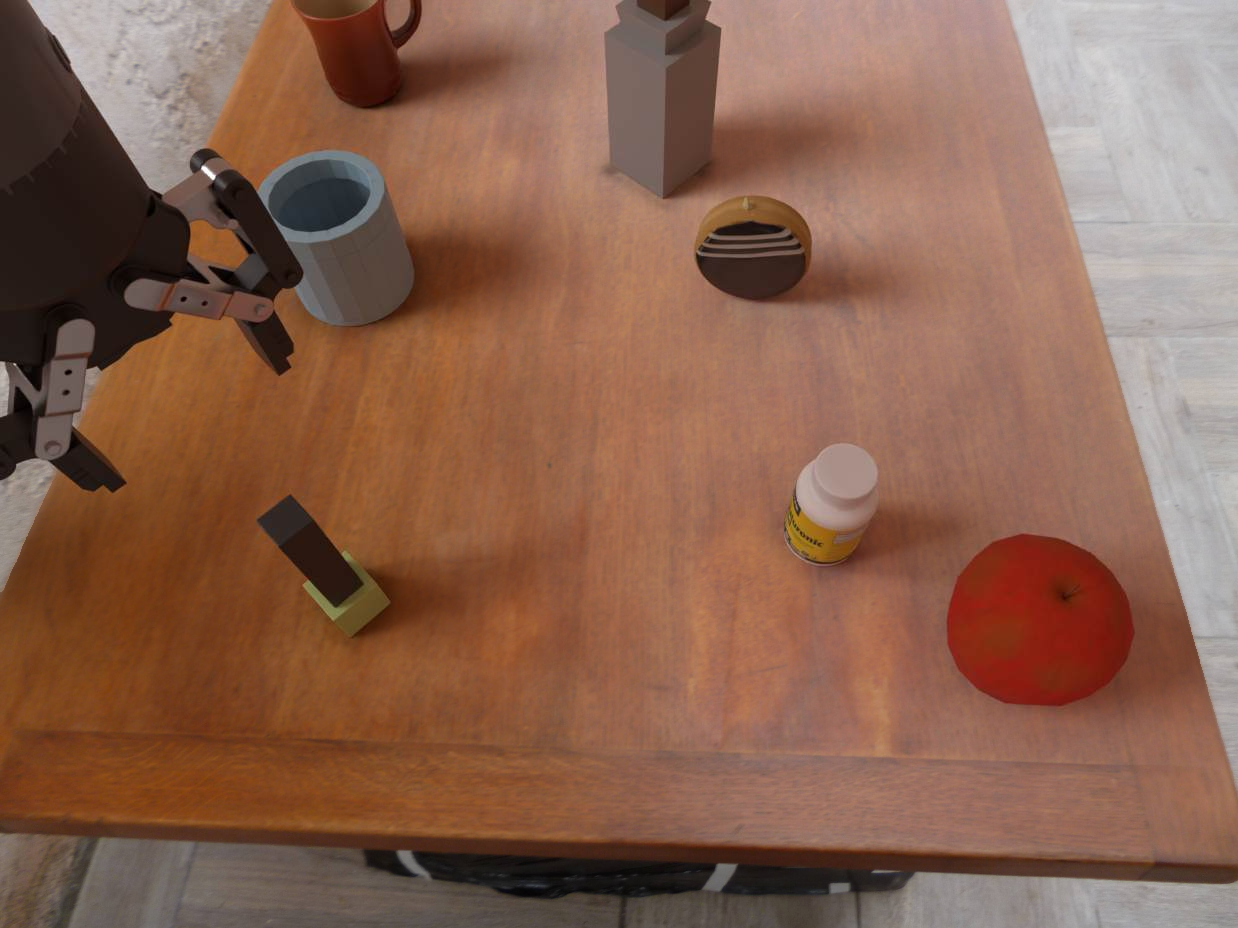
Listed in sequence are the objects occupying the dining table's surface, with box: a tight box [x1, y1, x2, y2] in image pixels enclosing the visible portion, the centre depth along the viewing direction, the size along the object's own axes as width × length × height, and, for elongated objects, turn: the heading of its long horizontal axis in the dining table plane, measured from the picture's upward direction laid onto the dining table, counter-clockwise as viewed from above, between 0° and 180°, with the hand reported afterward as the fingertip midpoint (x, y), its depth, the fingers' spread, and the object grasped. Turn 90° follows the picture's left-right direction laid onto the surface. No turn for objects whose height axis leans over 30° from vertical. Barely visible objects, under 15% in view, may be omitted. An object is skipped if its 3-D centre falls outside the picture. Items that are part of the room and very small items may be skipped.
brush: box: [255, 494, 392, 638], centre depth 54 cm, size 4×4×14 cm
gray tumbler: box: [256, 149, 416, 327], centre depth 70 cm, size 10×10×10 cm
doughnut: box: [693, 195, 813, 300], centre depth 69 cm, size 9×4×10 cm, turn 79°
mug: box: [290, 0, 423, 108], centre depth 83 cm, size 12×9×10 cm
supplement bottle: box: [782, 442, 880, 567], centre depth 57 cm, size 5×5×10 cm
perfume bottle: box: [603, 0, 722, 199], centre depth 73 cm, size 7×7×18 cm
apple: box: [946, 533, 1136, 707], centre depth 52 cm, size 10×10×12 cm
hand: (195, 417), depth 39 cm, fingers open, 8 cm apart
